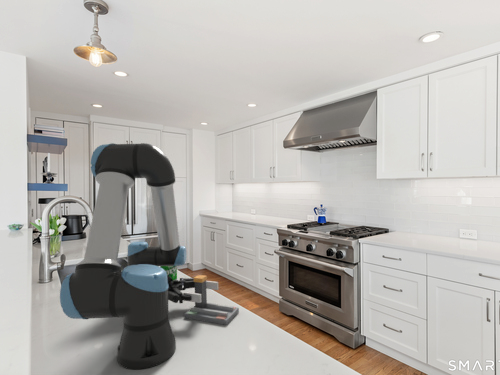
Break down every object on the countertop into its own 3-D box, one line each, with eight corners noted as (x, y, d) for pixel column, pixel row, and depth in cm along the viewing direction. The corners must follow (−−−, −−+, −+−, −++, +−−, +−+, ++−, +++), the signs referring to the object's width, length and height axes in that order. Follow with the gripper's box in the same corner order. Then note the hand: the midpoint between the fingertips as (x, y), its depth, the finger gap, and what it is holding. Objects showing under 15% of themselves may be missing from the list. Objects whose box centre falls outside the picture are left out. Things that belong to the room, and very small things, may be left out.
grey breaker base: (226, 324, 95) (226, 316, 94) (184, 317, 100) (184, 309, 100) (238, 312, 104) (238, 304, 104) (199, 306, 110) (199, 298, 110)
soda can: (157, 283, 136) (156, 257, 136) (168, 278, 142) (168, 254, 142) (169, 285, 132) (168, 259, 132) (180, 280, 139) (179, 255, 139)
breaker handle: (202, 310, 101) (202, 278, 101) (194, 309, 103) (193, 277, 102) (207, 306, 105) (206, 275, 104) (199, 305, 106) (198, 274, 106)
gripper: (177, 284, 121) (224, 290, 113) (136, 308, 99) (191, 317, 91) (177, 266, 121) (224, 271, 113) (135, 286, 99) (191, 293, 91)
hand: (209, 291), depth 102 cm, fingers open, 11 cm apart
